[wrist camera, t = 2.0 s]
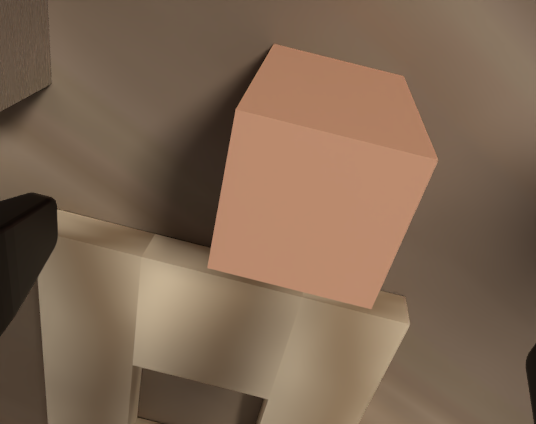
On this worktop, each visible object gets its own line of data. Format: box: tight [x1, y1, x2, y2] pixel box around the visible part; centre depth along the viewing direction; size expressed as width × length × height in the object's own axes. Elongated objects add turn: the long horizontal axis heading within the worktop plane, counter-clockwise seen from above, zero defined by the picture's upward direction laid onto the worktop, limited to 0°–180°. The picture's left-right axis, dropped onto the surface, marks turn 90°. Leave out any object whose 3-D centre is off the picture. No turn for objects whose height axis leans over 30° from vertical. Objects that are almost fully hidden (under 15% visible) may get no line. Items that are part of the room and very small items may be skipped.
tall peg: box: [207, 44, 438, 309], centre depth 13 cm, size 4×4×6 cm
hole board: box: [38, 209, 410, 424], centre depth 22 cm, size 14×18×2 cm
